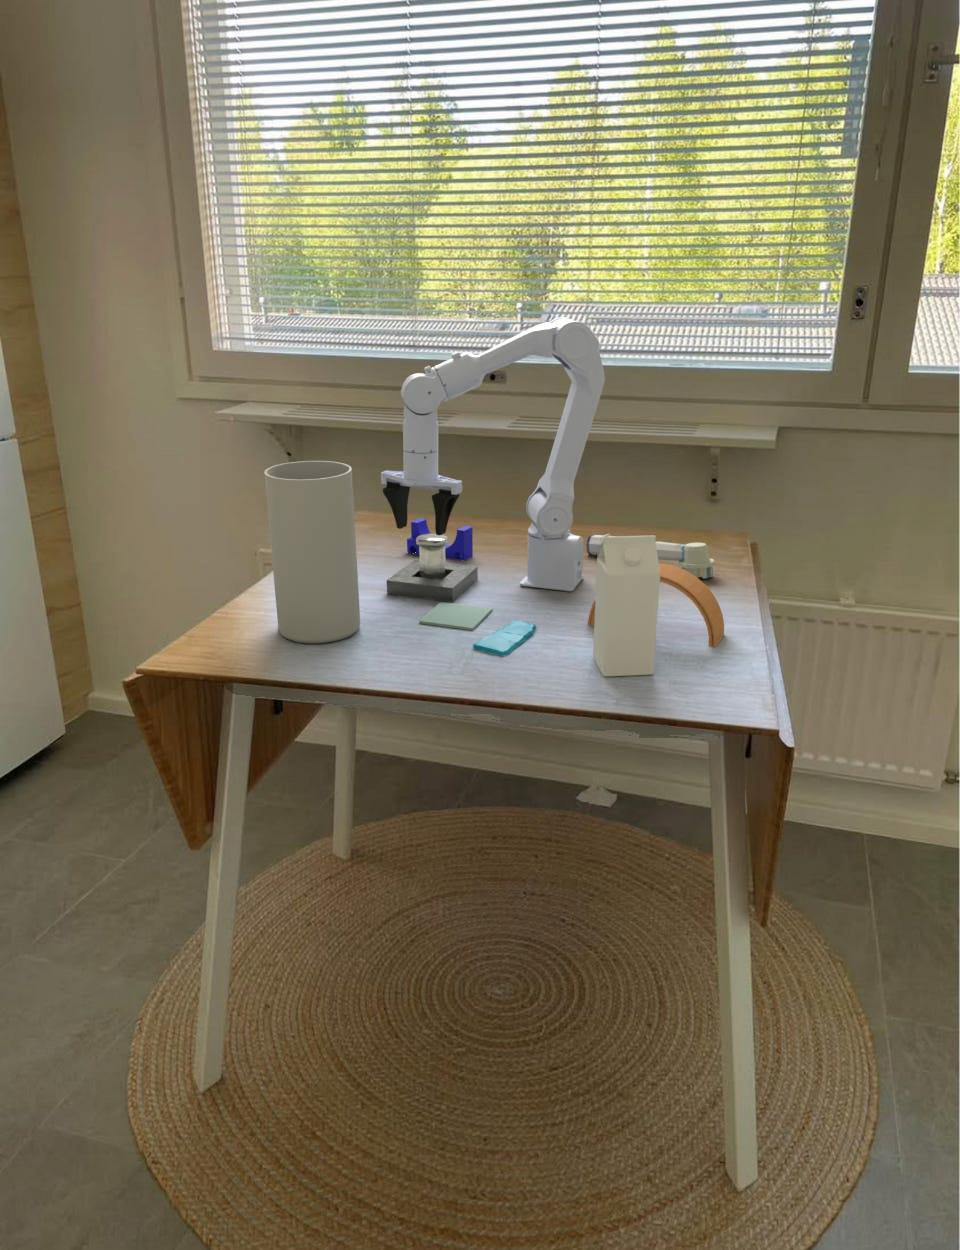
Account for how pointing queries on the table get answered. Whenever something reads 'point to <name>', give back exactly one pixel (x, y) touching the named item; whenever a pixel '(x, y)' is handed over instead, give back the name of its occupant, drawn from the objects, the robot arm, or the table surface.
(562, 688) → the table surface
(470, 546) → the blue bearing cradle
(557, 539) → the robot arm
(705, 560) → the angle grinder
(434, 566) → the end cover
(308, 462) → the cylinder vase
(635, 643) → the milk carton
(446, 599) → the socket block
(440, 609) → the mat
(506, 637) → the sponge
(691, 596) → the arch
